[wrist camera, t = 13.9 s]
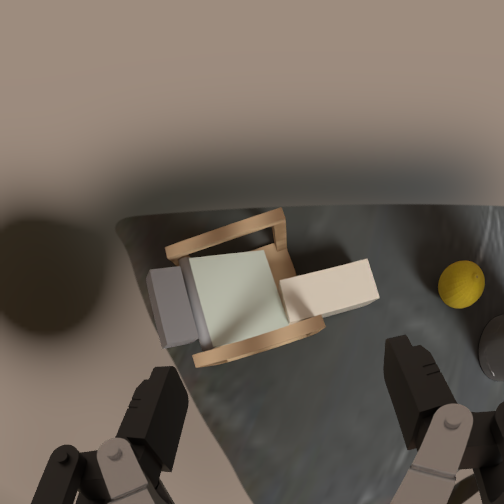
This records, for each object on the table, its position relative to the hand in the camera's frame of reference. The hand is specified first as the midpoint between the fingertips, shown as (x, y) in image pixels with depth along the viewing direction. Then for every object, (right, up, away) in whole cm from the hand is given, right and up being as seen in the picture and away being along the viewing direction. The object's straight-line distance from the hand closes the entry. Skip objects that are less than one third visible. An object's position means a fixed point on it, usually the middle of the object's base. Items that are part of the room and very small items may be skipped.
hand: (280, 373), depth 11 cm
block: (+2, -1, +23) cm, 24 cm away
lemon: (+24, -1, +24) cm, 34 cm away
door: (-5, -1, +21) cm, 22 cm away
